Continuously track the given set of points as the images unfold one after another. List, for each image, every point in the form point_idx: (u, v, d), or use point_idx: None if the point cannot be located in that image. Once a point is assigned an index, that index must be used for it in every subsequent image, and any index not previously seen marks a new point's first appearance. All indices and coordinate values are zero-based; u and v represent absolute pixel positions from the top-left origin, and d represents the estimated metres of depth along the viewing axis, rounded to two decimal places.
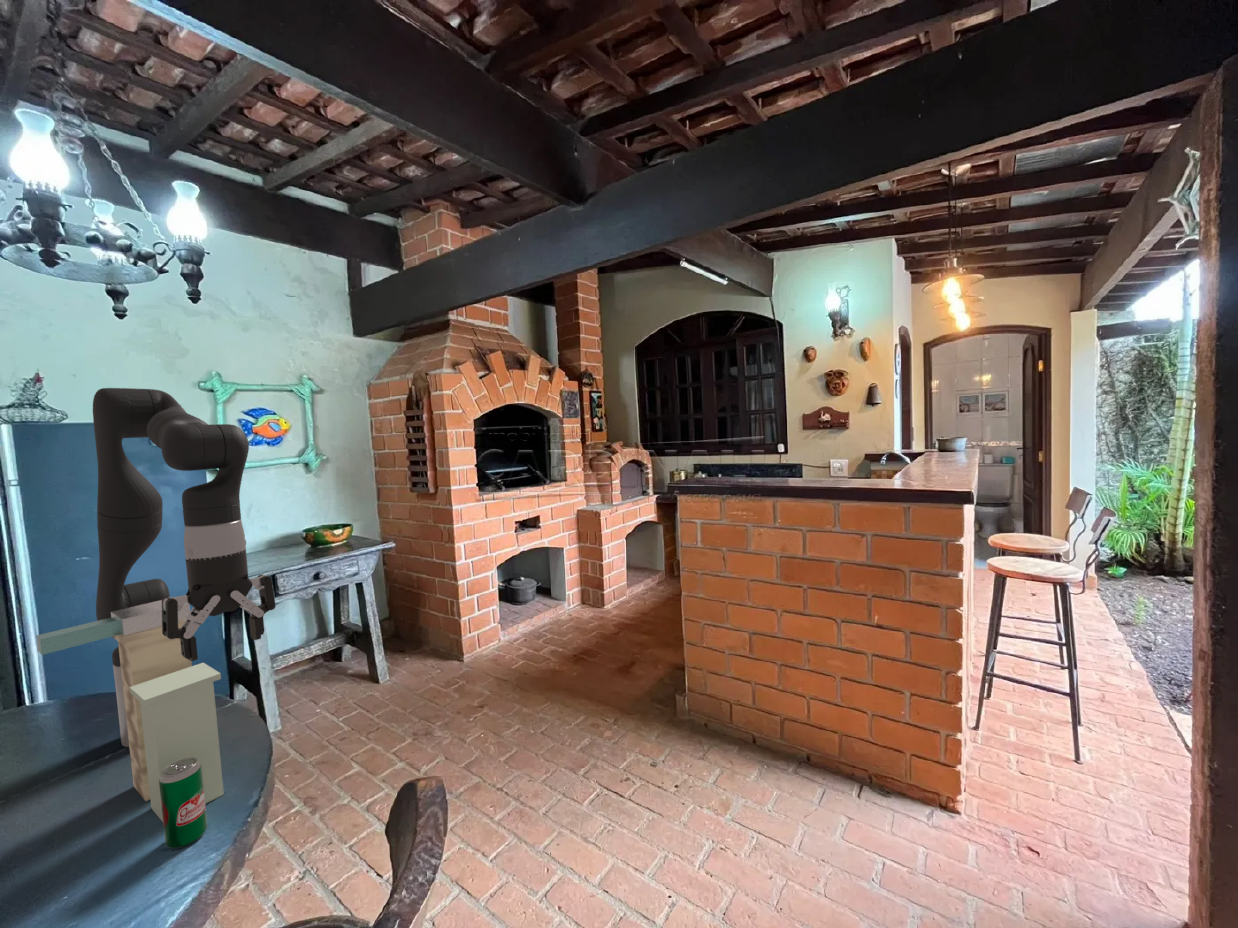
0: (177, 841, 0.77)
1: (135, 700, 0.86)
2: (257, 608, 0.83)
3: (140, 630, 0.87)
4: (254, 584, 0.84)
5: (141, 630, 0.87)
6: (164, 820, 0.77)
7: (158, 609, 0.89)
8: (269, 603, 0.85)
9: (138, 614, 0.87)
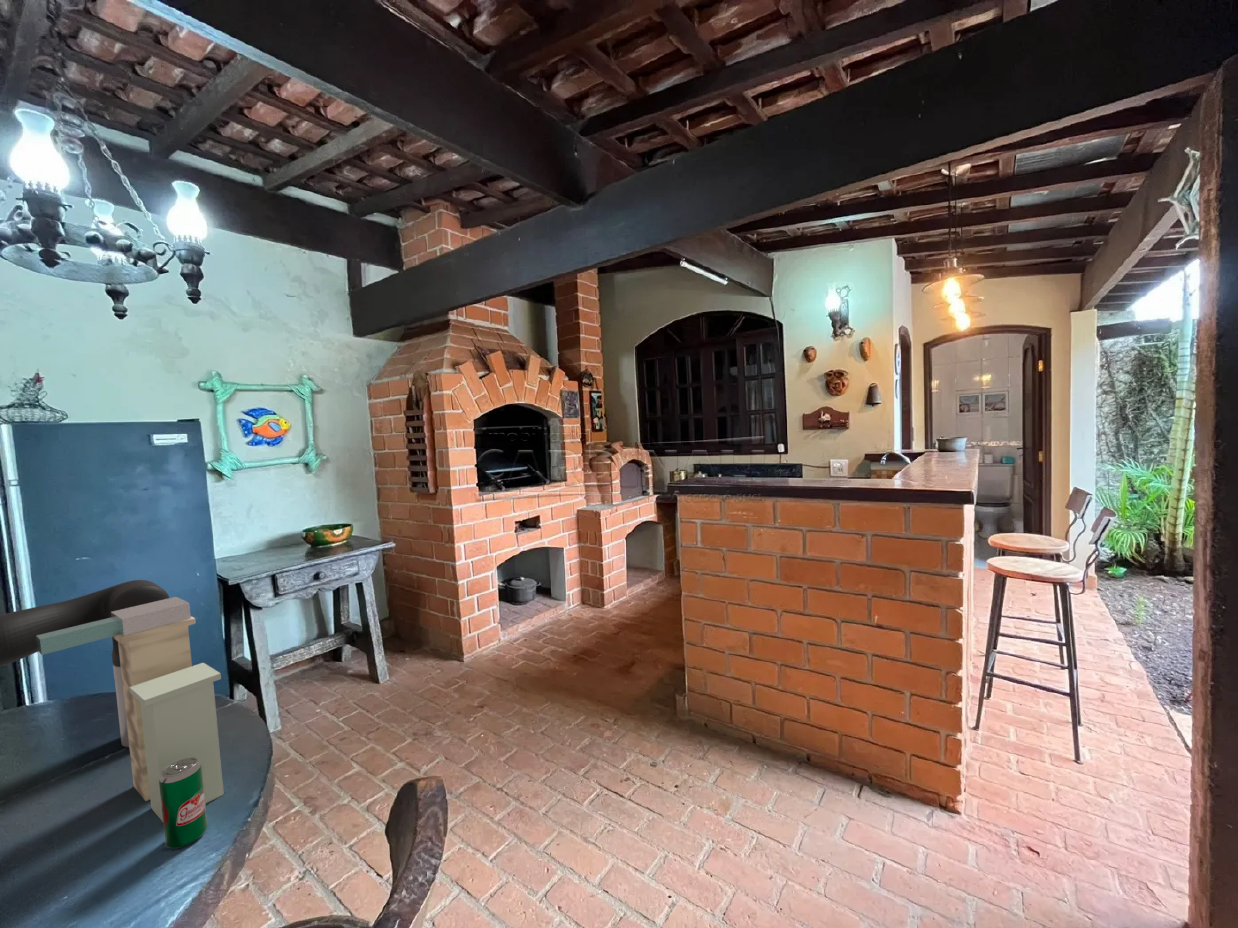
0: (177, 841, 0.77)
1: (135, 700, 0.86)
2: None
3: (140, 630, 0.87)
4: None
5: (141, 630, 0.87)
6: (164, 820, 0.77)
7: (158, 609, 0.89)
8: None
9: (138, 614, 0.87)
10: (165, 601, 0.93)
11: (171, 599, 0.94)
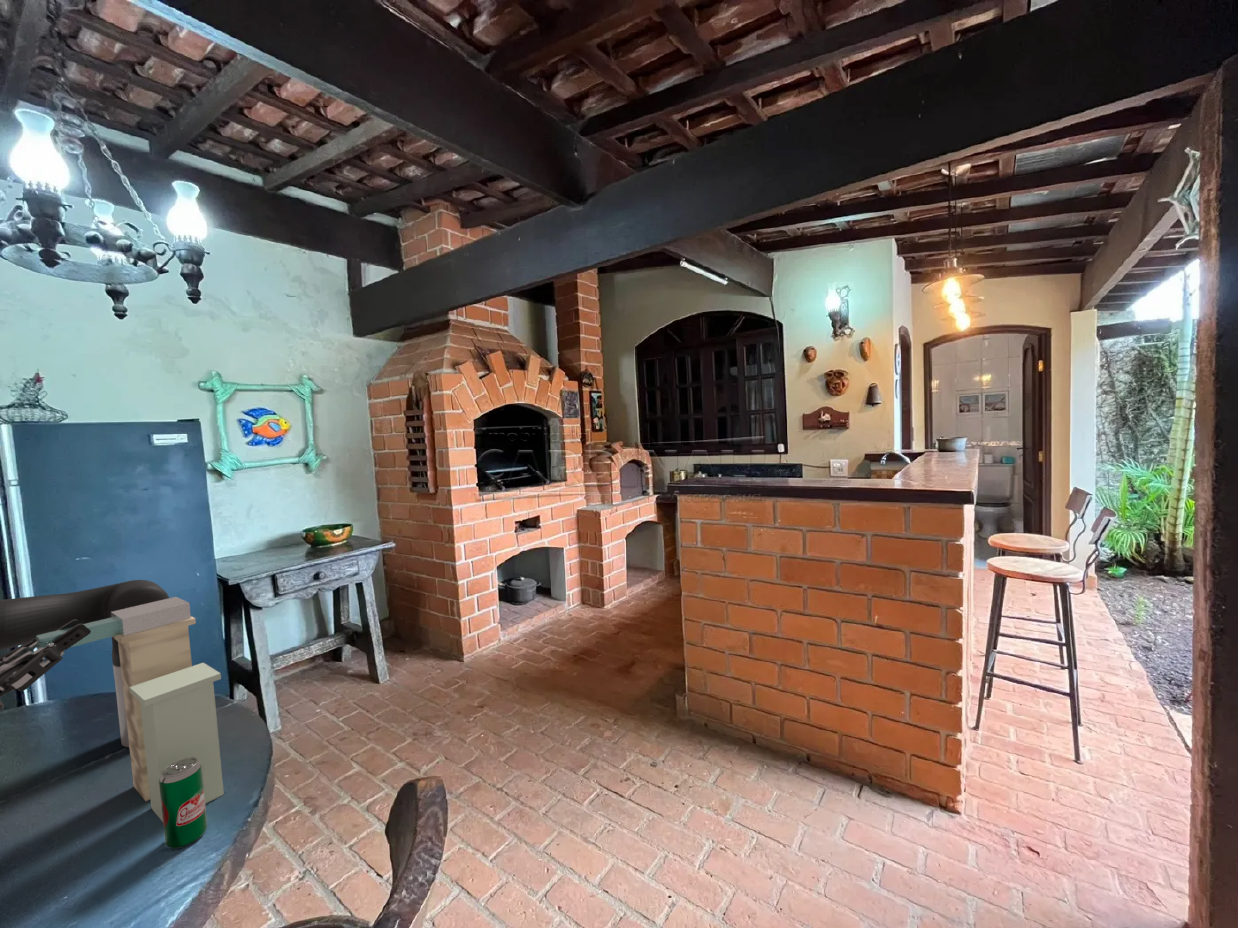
0: (177, 841, 0.77)
1: (135, 700, 0.86)
2: (34, 644, 0.80)
3: (140, 630, 0.87)
4: None
5: (141, 630, 0.87)
6: (164, 820, 0.77)
7: (158, 609, 0.89)
8: (29, 642, 0.81)
9: (138, 614, 0.87)
10: (165, 601, 0.93)
11: (171, 599, 0.94)
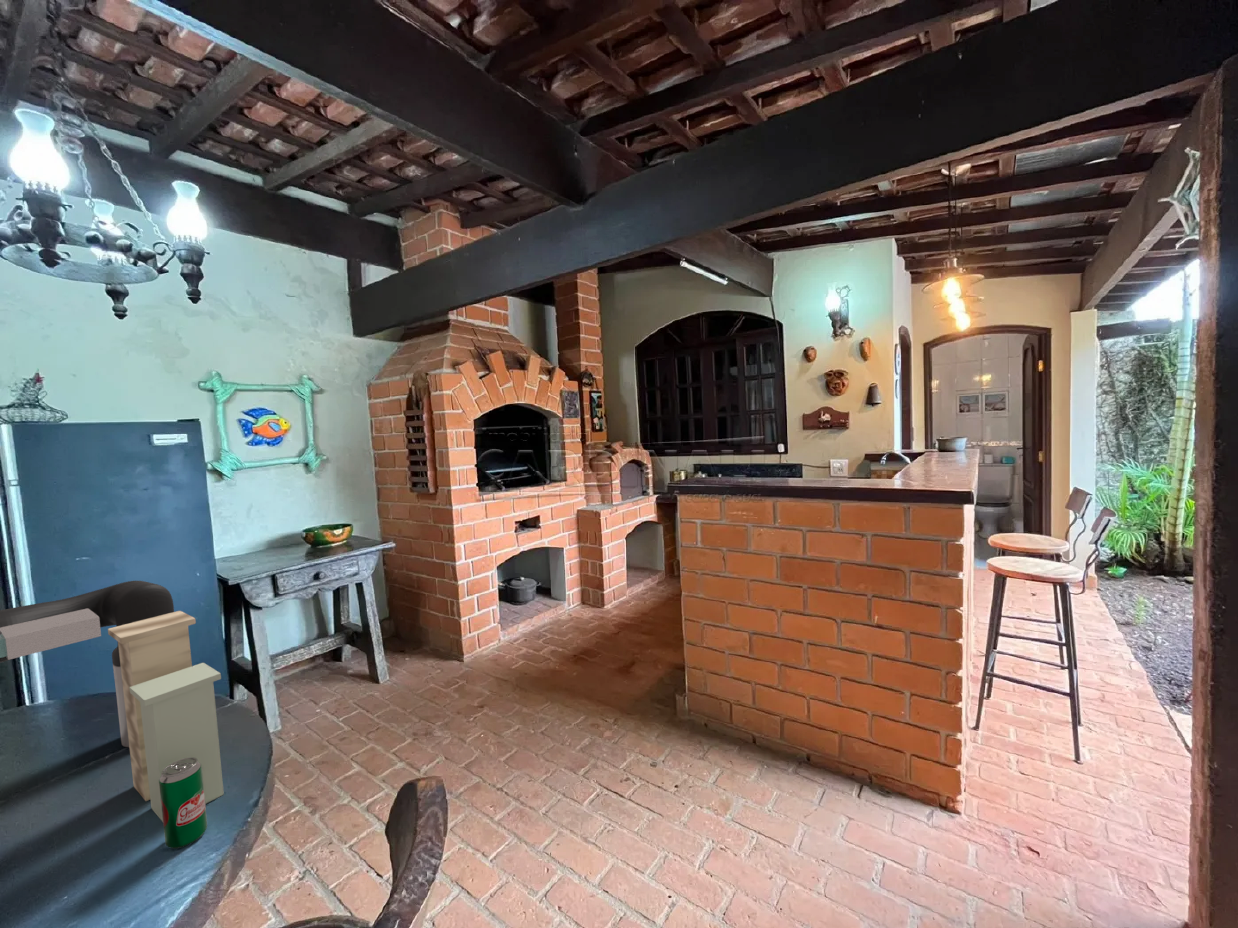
0: (177, 841, 0.77)
1: (135, 700, 0.86)
2: None
3: (31, 651, 0.70)
4: None
5: (32, 651, 0.70)
6: (164, 820, 0.77)
7: (57, 625, 0.72)
8: None
9: (29, 631, 0.70)
10: (71, 614, 0.77)
11: (80, 612, 0.78)
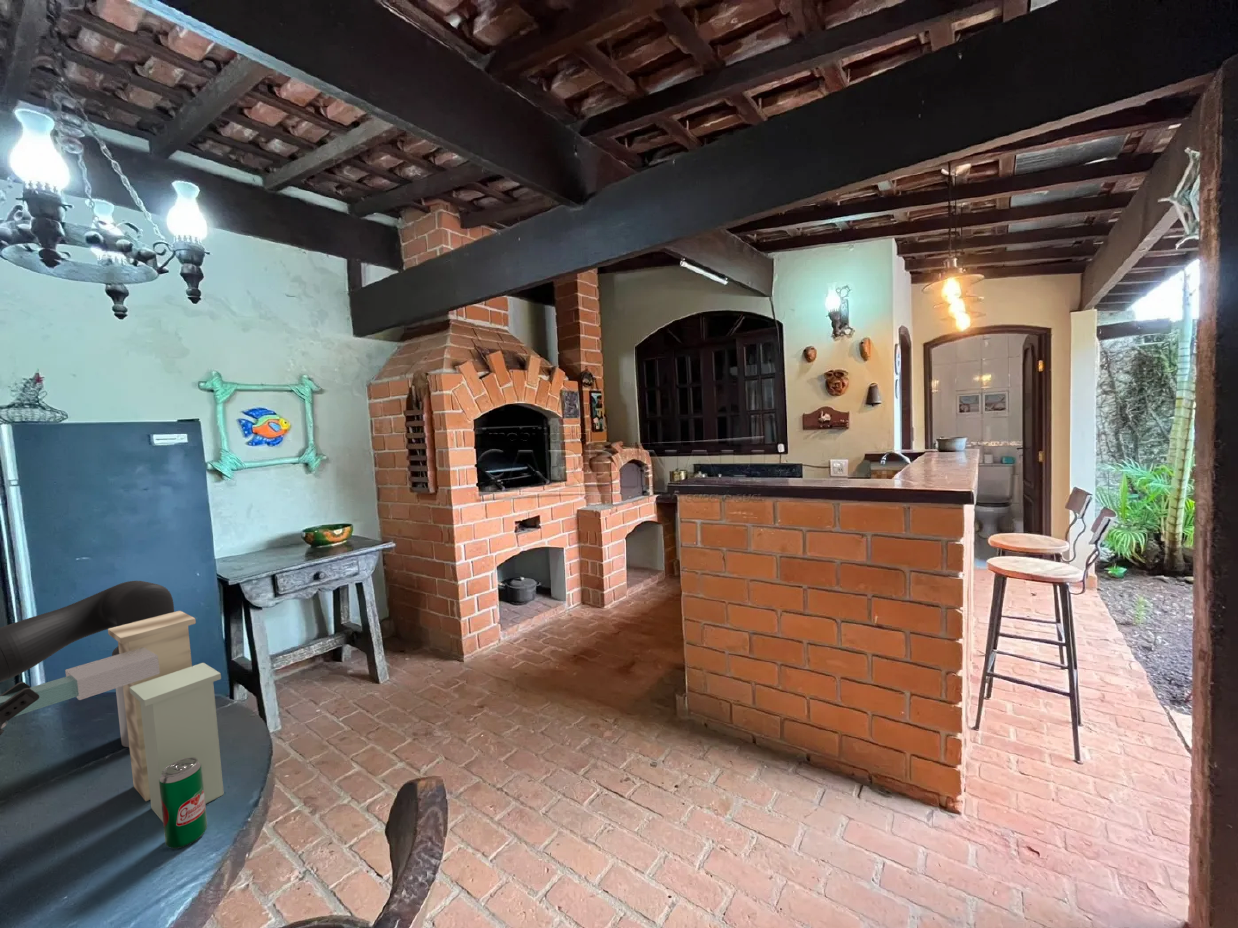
0: (177, 841, 0.77)
1: (135, 700, 0.86)
2: None
3: (99, 691, 0.75)
4: None
5: (100, 691, 0.75)
6: (164, 820, 0.77)
7: (121, 665, 0.78)
8: None
9: (97, 673, 0.75)
10: (130, 654, 0.82)
11: (137, 651, 0.83)
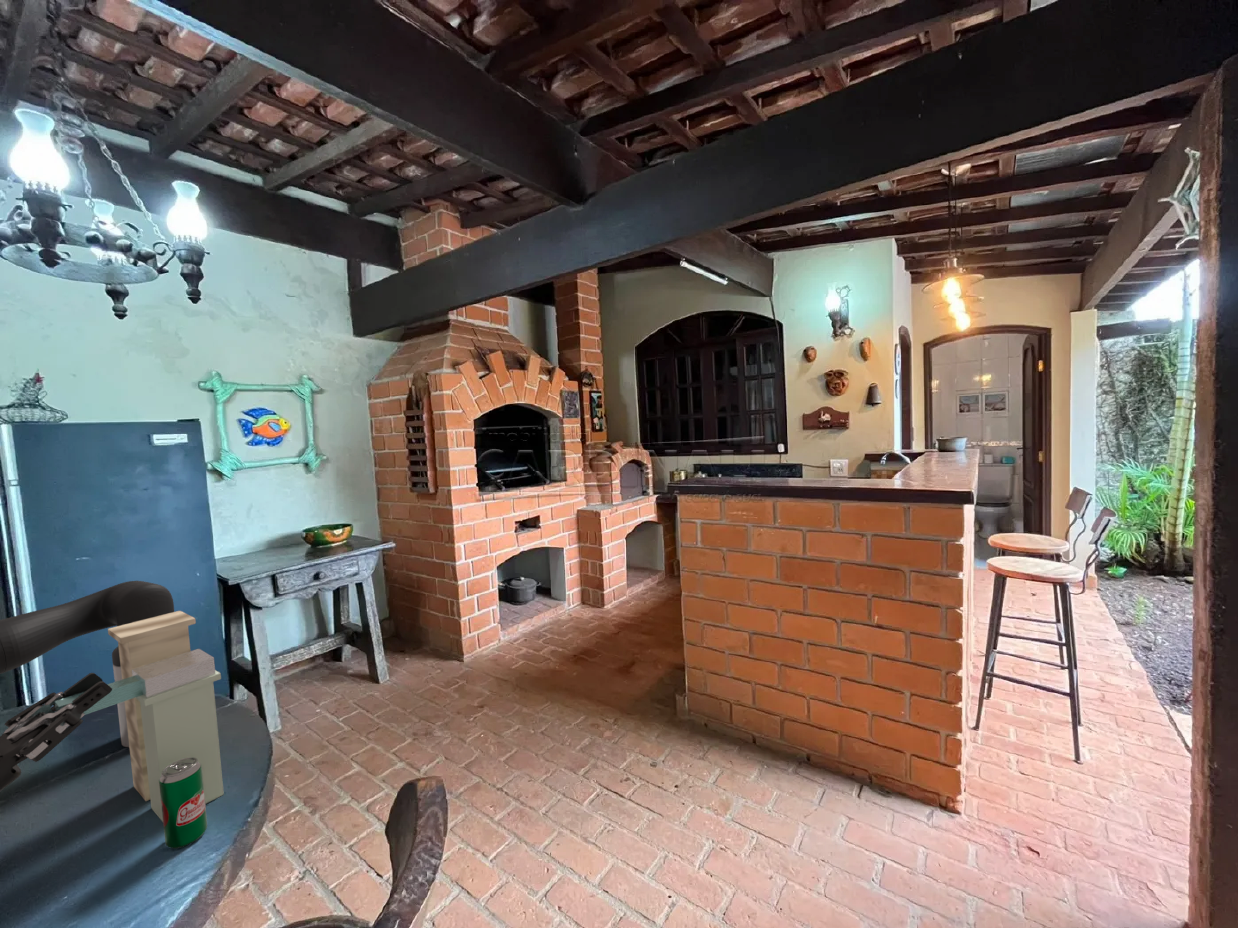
0: (177, 841, 0.77)
1: (135, 700, 0.86)
2: (49, 701, 0.75)
3: (163, 690, 0.82)
4: None
5: (164, 690, 0.82)
6: (164, 820, 0.77)
7: (182, 666, 0.84)
8: (44, 699, 0.76)
9: (161, 673, 0.82)
10: (188, 655, 0.88)
11: (194, 652, 0.89)
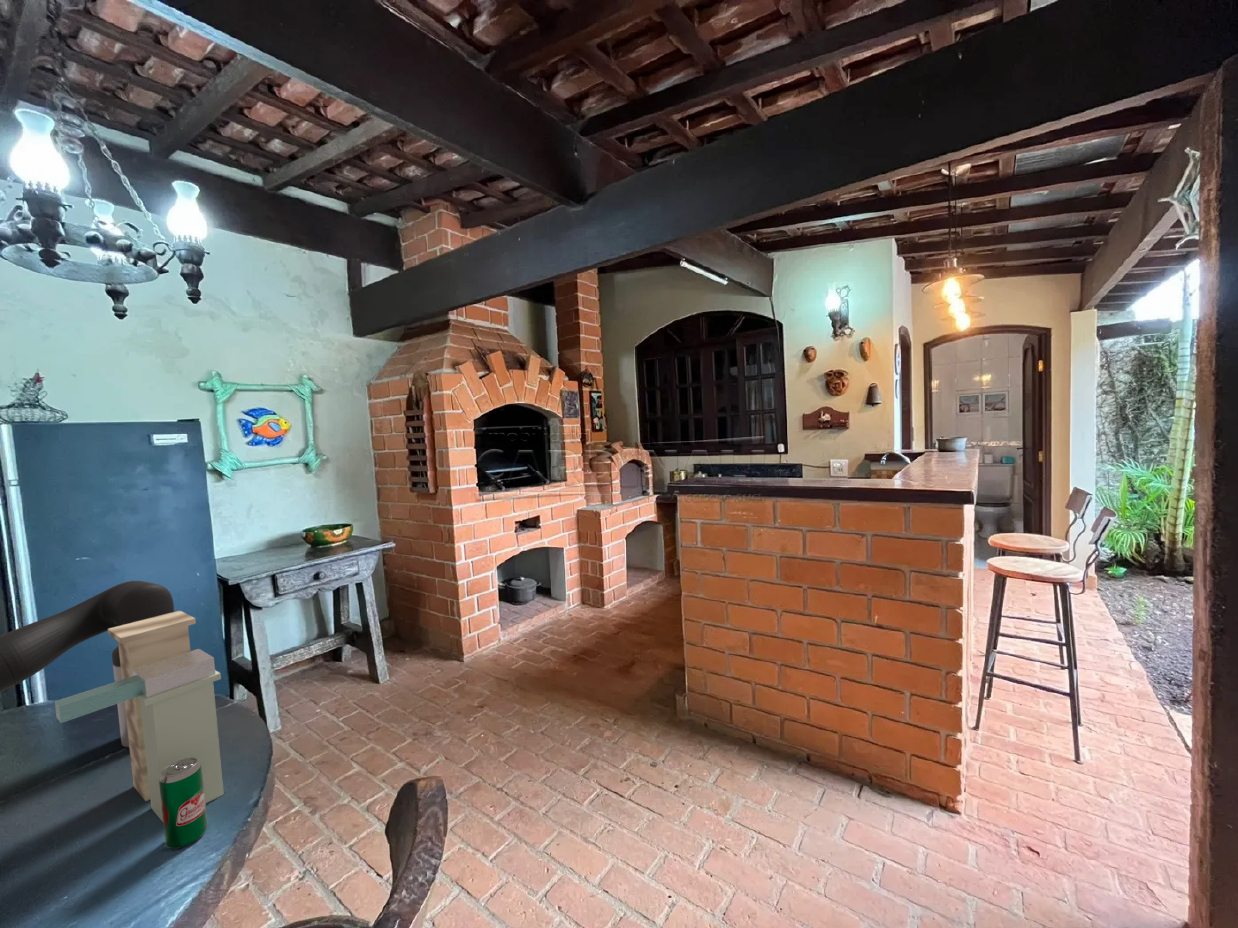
0: (177, 841, 0.77)
1: (135, 700, 0.86)
2: None
3: (163, 690, 0.82)
4: None
5: (164, 690, 0.82)
6: (164, 820, 0.77)
7: (182, 666, 0.84)
8: None
9: (161, 673, 0.82)
10: (188, 655, 0.88)
11: (194, 652, 0.89)
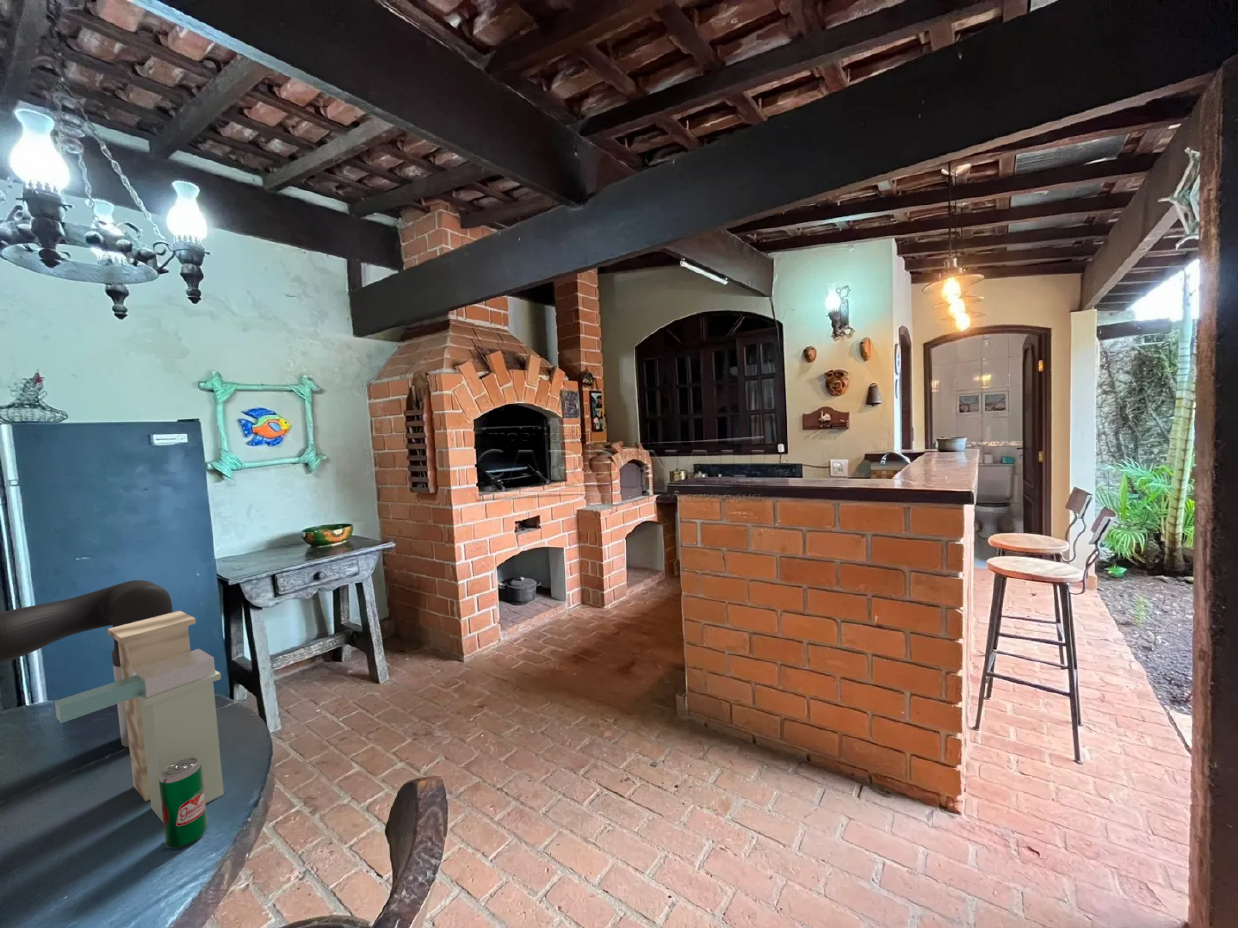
0: (177, 841, 0.77)
1: (135, 700, 0.86)
2: None
3: (163, 690, 0.82)
4: None
5: (164, 690, 0.82)
6: (164, 820, 0.77)
7: (182, 666, 0.84)
8: None
9: (161, 673, 0.82)
10: (188, 655, 0.88)
11: (194, 652, 0.89)
